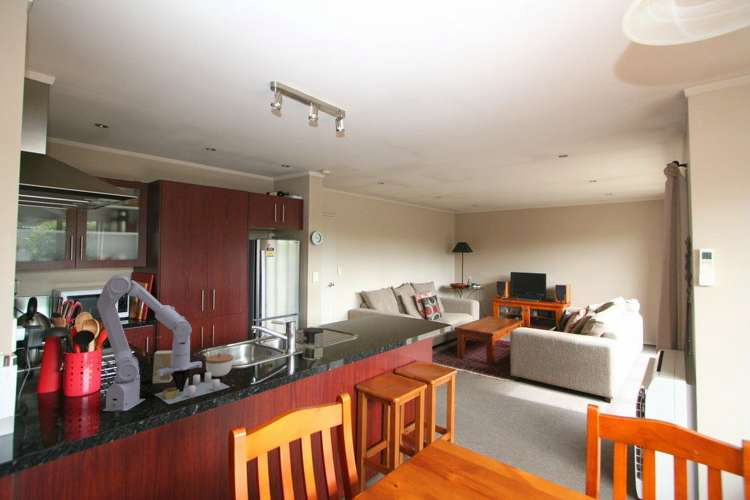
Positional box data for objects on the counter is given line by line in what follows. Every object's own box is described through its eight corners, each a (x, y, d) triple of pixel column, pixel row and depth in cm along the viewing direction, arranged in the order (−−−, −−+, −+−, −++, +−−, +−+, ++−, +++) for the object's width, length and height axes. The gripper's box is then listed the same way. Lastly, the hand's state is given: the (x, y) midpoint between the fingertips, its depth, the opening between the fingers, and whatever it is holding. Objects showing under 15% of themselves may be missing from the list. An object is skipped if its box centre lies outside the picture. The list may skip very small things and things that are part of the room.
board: (168, 405, 123) (169, 393, 123) (154, 395, 131) (154, 384, 131) (230, 388, 140) (230, 377, 140) (213, 380, 148) (213, 370, 148)
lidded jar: (199, 377, 152) (199, 354, 152) (219, 370, 162) (220, 348, 162) (217, 381, 148) (218, 358, 148) (238, 373, 157) (238, 352, 158)
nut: (177, 398, 128) (178, 391, 128) (161, 400, 126) (161, 392, 126) (180, 393, 132) (180, 387, 132) (164, 395, 131) (164, 388, 131)
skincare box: (152, 384, 142) (153, 353, 142) (155, 381, 146) (156, 350, 147) (170, 383, 144) (171, 352, 144) (173, 380, 148) (174, 349, 148)
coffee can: (303, 360, 178) (304, 332, 179) (301, 355, 188) (302, 327, 189) (324, 359, 182) (325, 331, 182) (321, 354, 191) (321, 327, 192)
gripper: (164, 359, 124) (162, 399, 124) (206, 351, 135) (205, 388, 135) (155, 355, 129) (154, 394, 128) (197, 348, 140) (196, 383, 140)
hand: (180, 391), depth 132 cm, fingers closed
